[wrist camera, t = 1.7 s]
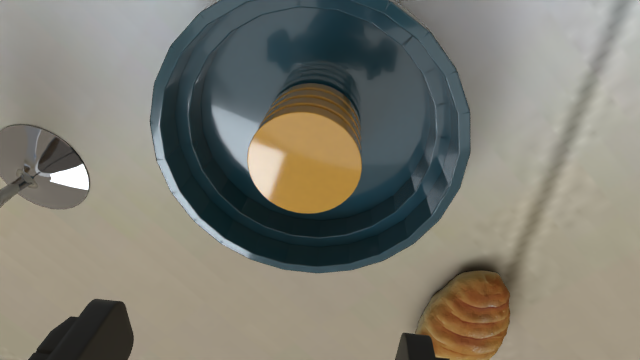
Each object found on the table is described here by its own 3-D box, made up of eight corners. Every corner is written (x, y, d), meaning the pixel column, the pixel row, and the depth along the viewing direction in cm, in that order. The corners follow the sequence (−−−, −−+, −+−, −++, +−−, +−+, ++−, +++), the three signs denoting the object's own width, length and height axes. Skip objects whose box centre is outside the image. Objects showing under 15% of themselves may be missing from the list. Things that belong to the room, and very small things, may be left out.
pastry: (439, 256, 29) (450, 294, 26) (525, 270, 30) (547, 309, 26) (408, 335, 34) (414, 375, 31) (482, 346, 34) (496, 387, 31)
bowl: (486, -13, 20) (517, -5, 16) (421, 241, 29) (431, 285, 25) (165, -38, 21) (121, -36, 17) (196, 218, 30) (173, 258, 26)
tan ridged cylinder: (366, 85, 23) (368, 117, 18) (355, 173, 26) (355, 218, 21) (266, 76, 23) (244, 106, 19) (267, 164, 26) (248, 208, 22)
